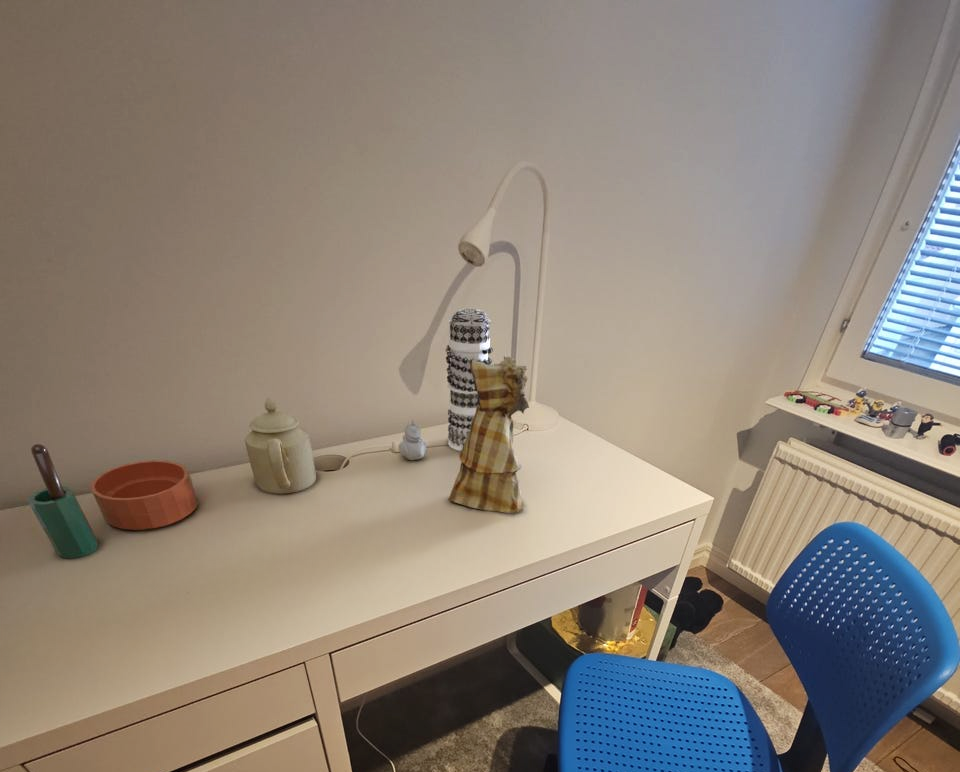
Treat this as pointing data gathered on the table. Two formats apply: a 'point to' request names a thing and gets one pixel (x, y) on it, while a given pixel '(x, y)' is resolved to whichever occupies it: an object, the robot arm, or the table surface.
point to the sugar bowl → (280, 452)
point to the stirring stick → (47, 471)
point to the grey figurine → (412, 443)
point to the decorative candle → (465, 370)
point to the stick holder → (64, 523)
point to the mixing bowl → (144, 494)
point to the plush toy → (492, 440)
